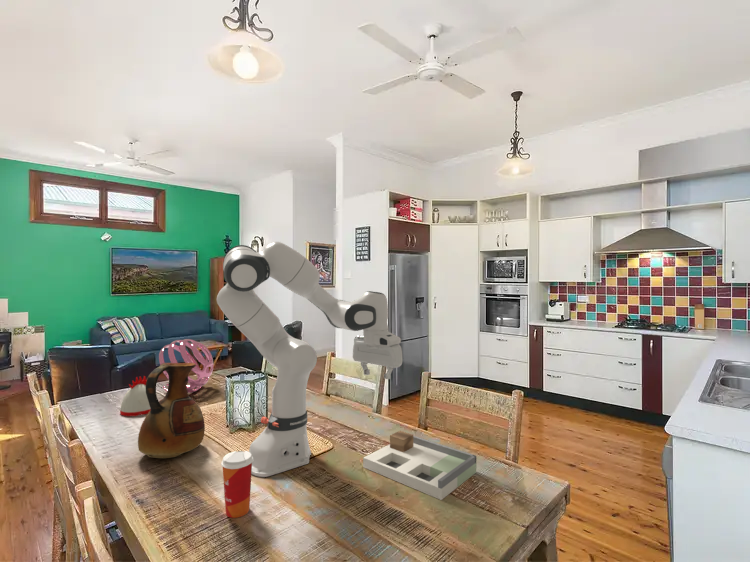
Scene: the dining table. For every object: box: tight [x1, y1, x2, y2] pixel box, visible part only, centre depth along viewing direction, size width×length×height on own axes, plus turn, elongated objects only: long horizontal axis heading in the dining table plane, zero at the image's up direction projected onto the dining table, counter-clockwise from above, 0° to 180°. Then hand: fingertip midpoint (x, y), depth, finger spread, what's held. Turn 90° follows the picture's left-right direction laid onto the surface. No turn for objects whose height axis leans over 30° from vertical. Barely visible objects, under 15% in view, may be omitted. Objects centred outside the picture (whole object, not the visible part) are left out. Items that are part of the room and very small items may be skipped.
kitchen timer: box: [119, 375, 151, 417], centre depth 177 cm, size 14×14×15 cm
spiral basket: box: [158, 338, 214, 394], centre depth 206 cm, size 28×28×27 cm
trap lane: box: [362, 435, 477, 501], centre depth 123 cm, size 20×28×5 cm
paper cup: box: [220, 450, 253, 519], centre depth 101 cm, size 8×8×14 cm
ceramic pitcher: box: [137, 362, 206, 459], centre depth 136 cm, size 20×20×30 cm
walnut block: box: [389, 430, 414, 452], centre depth 132 cm, size 6×6×4 cm
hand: (376, 376), depth 142 cm, fingers open, 8 cm apart
